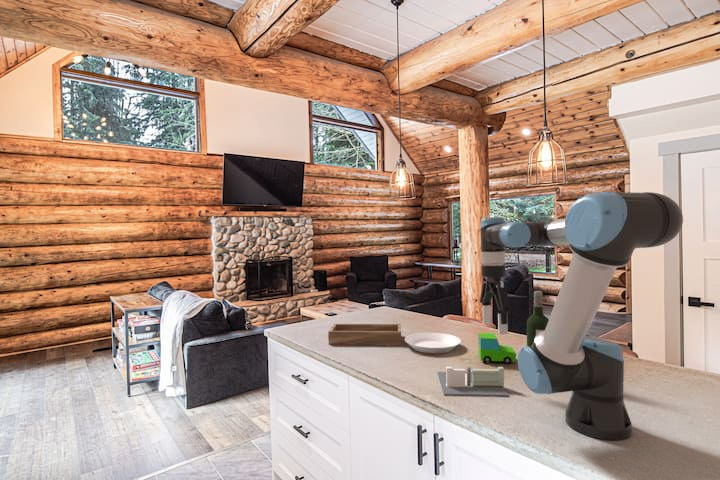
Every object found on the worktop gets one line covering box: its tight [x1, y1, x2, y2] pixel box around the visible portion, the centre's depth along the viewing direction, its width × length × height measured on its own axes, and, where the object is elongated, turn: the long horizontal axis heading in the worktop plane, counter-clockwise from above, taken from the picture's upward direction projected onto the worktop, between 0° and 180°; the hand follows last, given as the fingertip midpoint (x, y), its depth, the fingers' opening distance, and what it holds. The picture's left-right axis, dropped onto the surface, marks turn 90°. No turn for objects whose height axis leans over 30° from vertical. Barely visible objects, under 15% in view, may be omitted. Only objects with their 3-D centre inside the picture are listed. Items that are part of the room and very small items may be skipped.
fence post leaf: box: [445, 366, 472, 386], centre depth 134 cm, size 2×8×7 cm, turn 85°
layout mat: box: [437, 371, 510, 397], centre depth 136 cm, size 20×20×1 cm
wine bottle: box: [526, 290, 549, 347], centre depth 143 cm, size 8×8×30 cm
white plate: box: [404, 332, 462, 354], centre depth 180 cm, size 25×25×4 cm
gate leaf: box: [471, 366, 505, 387], centre depth 133 cm, size 10×2×6 cm, turn 85°
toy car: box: [478, 332, 517, 365], centre depth 160 cm, size 10×13×10 cm
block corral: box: [327, 323, 402, 346], centre depth 194 cm, size 16×34×6 cm, turn 85°
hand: (494, 329), depth 131 cm, fingers open, 13 cm apart
